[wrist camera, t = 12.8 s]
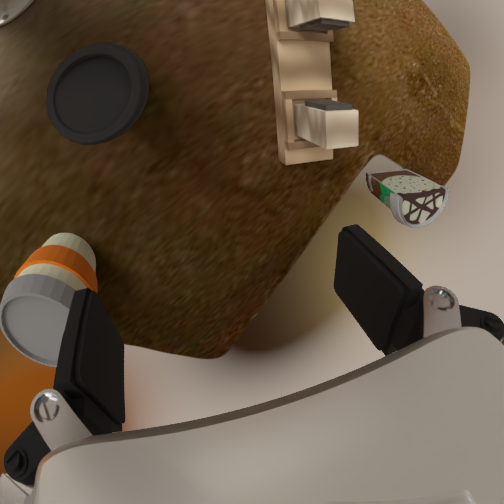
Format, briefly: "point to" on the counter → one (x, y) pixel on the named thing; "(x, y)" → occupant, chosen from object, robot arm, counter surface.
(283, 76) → the rail
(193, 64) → the counter surface
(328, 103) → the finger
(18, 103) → the counter surface
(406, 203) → the food container
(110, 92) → the coffee cup
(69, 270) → the reusable coffee cup
